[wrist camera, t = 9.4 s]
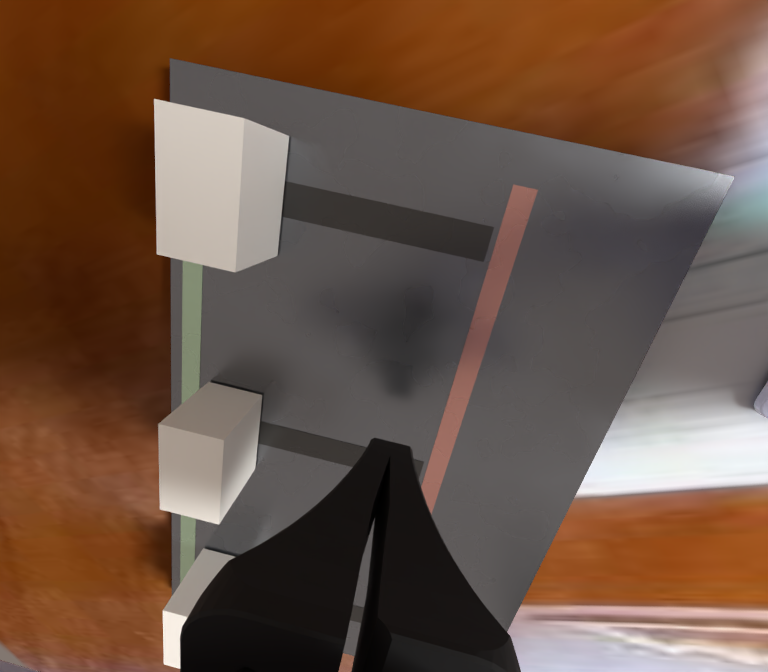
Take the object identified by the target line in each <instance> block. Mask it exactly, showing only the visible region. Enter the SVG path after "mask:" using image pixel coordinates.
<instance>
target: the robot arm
mask: <svg viewBox="0 0 768 672" xmlns="http://www.w3.org/2000/svg"><path fill="white" fill-rule="evenodd" d="M754 409H755V410H756V411H757V412H758V413H759V414H761V415H762V416H764V417H766V418H768V382H767V383H766V385H765V386H764V388H763V389H762V391H761V392H760V394H759V395H758V397H757V398H756V400H755V403H754ZM374 518H375V520H374ZM373 522H374V529H373V539H372V548H371V558H370V567H369V577H368V586H367V593H366V600H365V605H364V610H363V615H362V621H361V626H360V631H359V636H358V641H357V647H356V652H355V657H354V662H353V667H352V672H521V670H520V667H519V663H518V660H517V656H516V653H515V649H514V646H513V643H512V640H511V637H510V635H509V634H508V633H507V632H506V631H505V629H504V628H503V627H502V626H501V625H500V623H499V622H498V621H497V620H496V619H495V617H494V616H493V615H492V614H491V612H490V611H489V610H488V609H487V608H486V606H485V605H484V604H483V603H482V601H481V600H480V598H479V597H478V596H477V594H476V593H475V592H474V590H473V589H472V587H471V586H470V584H469V583H468V581H467V580H466V578H465V576H464V575H463V573H462V572H461V570H460V569H459V567H458V565H457V564H456V562H455V561H454V559H453V557H452V555H451V554H450V552H449V550H448V548H447V546H446V545H445V543H444V541H443V539H442V537H441V535H440V533H439V531H438V529H437V526H436V524H435V522H434V520H433V518H432V515H431V513H430V510H429V508H428V505H427V503H426V500H425V497H424V494H423V491H422V488H421V485H420V482H419V479H418V475H417V471H416V468H415V463H414V458H413V451H412V449H411V447H410V446H407V445H403V444H399V443H395V442H391V441H387V440H383V439H379V438H373V439H371V440H370V443H369V445H368V446H367V448H366V450H365V451H364V453H363V454H362V456H361V457H360V459H359V460H358V461H357V463H356V464H355V465H354V466H353V468H352V469H351V470H350V471H349V472H348V474H347V475H346V476H345V477H344V478H343V479H342V480H341V481H340V482H339V483H338V484H337V486H336V487H335V488H334V489H333V490H332V491H331V492H330V493H329V494H328V495H327V496H325V497H324V498H323V499H322V500H321V501H320V502H319V503H318V504H317V505H315V506H314V507H313V508H312V509H311V510H309V511H308V512H307V513H305V514H304V515H303V516H302V517H300V518H299V519H298V520H296V521H295V522H294V523H292V524H291V525H289V526H288V527H286V528H285V529H283V530H282V531H280V532H279V533H277V534H276V535H274V536H272V537H271V538H269V539H268V540H266V541H265V542H263V543H261V544H259V545H258V546H256V547H254V548H252V549H250V550H248V551H246V552H244V553H242V554H240V555H239V556H237V557H235V558H233V559H231V560H229V561H228V562H227V563H226V564H225V565H224V566H223V568H222V569H221V570H220V571H219V572H218V573H217V575H216V576H215V577H214V578H213V580H212V581H211V582H210V584H209V585H208V586H207V588H206V589H205V590H204V592H203V593H202V594H201V596H200V598H199V599H198V601H197V602H196V604H195V606H194V607H193V609H192V611H191V613H190V614H189V616H188V618H187V619H186V621H185V623H184V624H183V626H182V630H181V635H180V672H338V671H339V667H340V663H341V658H342V654H343V650H344V646H345V642H346V637H347V633H348V628H349V623H350V618H351V613H352V608H353V603H354V598H355V592H356V587H357V582H358V577H359V572H360V567H361V562H362V557H363V554H364V551H365V548H366V544H367V541H368V538H369V535H370V531H371V528H372V525H373ZM0 672H39V671H35V670H32V669H29V668H25V667H22V666H19V665H15V664H12V663H9V662H5V661H2V660H0Z"/></svg>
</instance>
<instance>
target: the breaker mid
mask: <svg viewBox="0 0 768 672" xmlns="http://www.w3.org/2000/svg"><path fill="white" fill-rule="evenodd" d="M261 405H262V395H260V394H256V393H252V392H248V391H244V390H239V389H235V388H231V387H227V386H223V385H219V384H215V383H211V382H208V383H207V384H205V385H204V386H203V387H202V388H201V389H199V390H198V391H197V392H196V393H195V394H193V395H192V396H191V397H190V398H189V399H187V400H186V401H185V402H184V403H183V404H181V405H180V406H179V407H178V408H177V409H175V410H174V411H173V412H172V413H171V414H169V415H168V416H167V417H166V418H165V419H163V420H162V421H161V422H160V423H159V424H158V436H159V489H160V509H161V510H165V511H169V512H172V513H176V514H180V515H184V516H188V517H192V518H195V519H199V520H203V521H207V522H211V523H214V524H218V525H219V524H220V522H221V521H222V519H223V518H224V516H225V515H226V513H227V512H228V510H229V509H230V507H231V506H232V504H233V502H234V501H235V499H236V498H237V496H238V495H239V493H240V492H241V490H242V489H243V487H244V486H245V484H246V482H247V481H248V479H249V478H250V476H251V475H252V473H253V472H254V470H255V466H256V456H257V446H258V435H259V425H260V415H261Z"/></svg>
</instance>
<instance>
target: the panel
mask: <svg viewBox="0 0 768 672" xmlns="http://www.w3.org/2000/svg"><path fill="white" fill-rule="evenodd" d="M170 102H171V103H176V104H180V105H185V106H190V107H194V108H199V109H204V110H208V111H213V112H218V113H222V114H227V115H232V116H236V117H241V118H245V119H248V120H250V121H253V122H255V123H258V124H260V125H263V126H265V127H268V128H270V129H273V130H275V131H278V132H280V133H283V134H285V135H288V136H289V143H288V154H287V164H286V174H285V184H284V194H283V204H282V214H281V224H280V235H279V245H278V255H277V256H276V257H273V258H271V259H268V260H266V261H263V262H261V263H258V264H256V265H253V266H251V267H248V268H246V269H243V270H241V271H238V272H231V271H226V270H222V269H218V268H214V267H209V266H205V265H201V264H196V263H192V262H188V261H183V260H179V259H175V258H171V413H172V412H173V411H174V410H175V409H177V408H178V407H179V406H180V405H181V404H183V403H184V402H185V401H186V400H187V399H189V398H190V397H191V396H192V395H193V394H195V393H196V392H197V391H198V390H199V389H201V388H202V387H203V386H204V385H205V384H207V383H208V382H211V383H215V384H219V385H223V386H227V387H231V388H235V389H239V390H244V391H248V392H252V393H256V394H260V395H262V405H261V415H260V425H259V435H258V446H257V456H256V466H255V470H254V472H253V473H252V475H251V476H250V478H249V479H248V481H247V482H246V484H245V486H244V487H243V489H242V490H241V492H240V493H239V495H238V496H237V498H236V499H235V501H234V502H233V504H232V506H231V507H230V509H229V510H228V512H227V513H226V515H225V516H224V518H223V519H222V521H221V522H220V524H219V525H218V524H214V523H211V522H207V521H203V520H199V519H195V518H192V517H188V516H184V515H180V514H176V513H172V596H173V594H174V592H175V591H176V589H177V588H178V586H179V585H180V583H181V582H182V580H183V579H184V577H185V576H186V574H187V573H188V571H189V569H190V568H191V566H192V565H193V563H194V562H195V560H196V559H197V557H198V556H199V554H200V553H201V551H202V549H203V548H204V549H208V550H212V551H215V552H219V553H223V554H227V555H231V556H234V557H237V556H239V555H240V554H242V553H244V552H246V551H248V550H250V549H252V548H254V547H256V546H258V545H259V544H261V543H263V542H265V541H266V540H268V539H269V538H271V537H272V536H274V535H276V534H277V533H279V532H280V531H282V530H283V529H285V528H286V527H288V526H289V525H291V524H292V523H294V522H295V521H296V520H298V519H299V518H300V517H302V516H303V515H304V514H305V513H307V512H308V511H309V510H311V509H312V508H313V507H314V506H315V505H317V504H318V503H319V502H320V501H321V500H322V499H323V498H324V497H325V496H327V495H328V494H329V493H330V492H331V491H332V490H333V489H334V488H335V487H336V486H337V484H338V483H339V482H340V481H341V480H342V479H343V478H344V477H345V476H346V475H347V474H348V472H349V471H350V470H351V469H352V468H353V466H354V465H355V464H356V463H357V461H358V460H359V459H360V457H361V456H362V454H363V453H364V451H365V450H366V448H367V446H368V445H369V443H370V440H371V439H373V438H379V439H383V440H387V441H391V442H395V443H399V444H403V445H407V446H410V447H411V449H412V451H413V458H414V463H415V468H416V471H417V475H418V479H419V482H420V485H421V488H422V491H423V494H424V497H425V500H426V503H427V505H428V508H429V510H430V513H431V515H432V518H433V520H434V522H435V524H436V526H437V529H438V531H439V533H440V535H441V537H442V539H443V541H444V543H445V545H446V546H447V548H448V550H449V552H450V554H451V555H452V557H453V559H454V561H455V562H456V564H457V565H458V567H459V569H460V570H461V572H462V573H463V575H464V576H465V578H466V580H467V581H468V583H469V584H470V586H471V587H472V589H473V590H474V592H475V593H476V594H477V596H478V597H479V598H480V600H481V601H482V603H483V604H484V605H485V606H486V608H487V609H488V610H489V611H490V612H491V614H492V615H493V616H494V617H495V619H496V620H497V621H498V622H499V623H500V625H501V626H502V627H503V628H504V629H505V631H506V632H507V631H508V629H509V627H510V625H511V623H512V621H513V619H514V617H515V615H516V613H517V611H518V609H519V607H520V605H521V603H522V601H523V599H524V597H525V595H526V593H527V591H528V589H529V587H530V585H531V583H532V581H533V579H534V577H535V575H536V573H537V571H538V569H539V567H540V565H541V563H542V561H543V559H544V557H545V555H546V553H547V551H548V549H549V547H550V545H551V543H552V541H553V539H554V537H555V535H556V533H557V531H558V529H559V527H560V525H561V523H562V521H563V519H564V517H565V515H566V513H567V511H568V509H569V507H570V505H571V503H572V501H573V499H574V497H575V495H576V493H577V491H578V489H579V487H580V485H581V483H582V481H583V479H584V477H585V475H586V473H587V471H588V469H589V467H590V465H591V463H592V461H593V459H594V457H595V455H596V453H597V451H598V449H599V447H600V445H601V443H602V441H603V439H604V437H605V435H606V433H607V431H608V429H609V427H610V425H611V423H612V421H613V419H614V417H615V415H616V413H617V411H618V409H619V407H620V405H621V403H622V401H623V399H624V397H625V395H626V393H627V391H628V389H629V387H630V385H631V383H632V381H633V379H634V377H635V375H636V373H637V371H638V369H639V367H640V365H641V363H642V361H643V359H644V357H645V355H646V353H647V351H648V349H649V347H650V345H651V343H652V341H653V339H654V337H655V335H656V333H657V331H658V329H659V327H660V325H661V323H662V321H663V319H664V317H665V315H666V313H667V311H668V309H669V307H670V305H671V303H672V301H673V299H674V297H675V295H676V293H677V291H678V289H679V287H680V285H681V283H682V281H683V279H684V277H685V275H686V273H687V271H688V269H689V267H690V265H691V263H692V261H693V259H694V257H695V255H696V253H697V251H698V249H699V247H700V245H701V243H702V241H703V239H704V237H705V235H706V233H707V231H708V229H709V227H710V225H711V223H712V221H713V219H714V217H715V215H716V213H717V211H718V209H719V207H720V205H721V203H722V201H723V199H724V197H725V195H726V193H727V191H728V189H729V188H730V186H731V184H732V182H733V180H734V178H735V176H730V175H725V174H721V173H716V172H711V171H706V170H702V169H697V168H692V167H687V166H682V165H678V164H673V163H668V162H663V161H659V160H654V159H649V158H644V157H639V156H635V155H630V154H625V153H620V152H616V151H611V150H606V149H601V148H596V147H592V146H587V145H582V144H577V143H572V142H568V141H563V140H558V139H553V138H549V137H544V136H539V135H534V134H529V133H525V132H520V131H515V130H510V129H506V128H501V127H496V126H491V125H486V124H482V123H477V122H472V121H467V120H463V119H458V118H453V117H448V116H443V115H439V114H434V113H429V112H424V111H420V110H415V109H410V108H405V107H400V106H396V105H391V104H386V103H381V102H376V101H372V100H367V99H362V98H357V97H353V96H348V95H343V94H338V93H333V92H329V91H324V90H319V89H314V88H310V87H305V86H300V85H295V84H290V83H286V82H281V81H276V80H271V79H267V78H262V77H257V76H252V75H247V74H243V73H238V72H233V71H228V70H224V69H219V68H214V67H209V66H204V65H200V64H195V63H190V62H185V61H180V60H176V59H171V58H170ZM374 520H375V518H374ZM373 529H374V522H373V525H372V528H371V531H370V535H369V538H368V541H367V544H366V548H365V551H364V554H363V557H362V562H361V567H360V572H359V577H358V582H357V587H356V592H355V598H354V603H353V608H352V613H351V618H350V623H349V628H348V633H347V637H346V642H345V646H344V650H343V653H345V654H349V655H352V656H355V652H356V647H357V641H358V636H359V631H360V626H361V621H362V615H363V610H364V605H365V600H366V593H367V586H368V577H369V567H370V558H371V548H372V539H373Z"/></svg>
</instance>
